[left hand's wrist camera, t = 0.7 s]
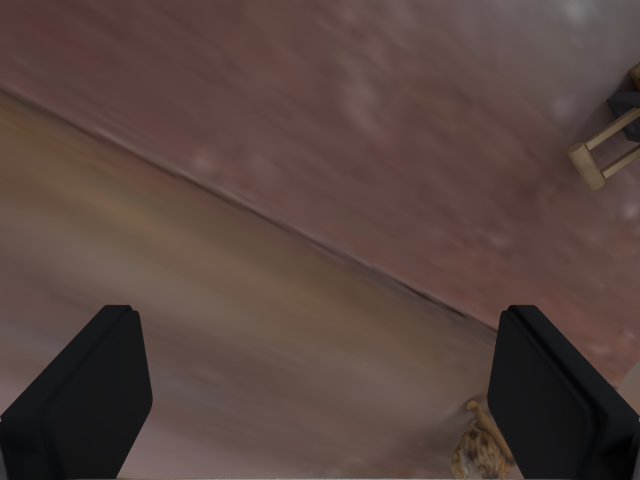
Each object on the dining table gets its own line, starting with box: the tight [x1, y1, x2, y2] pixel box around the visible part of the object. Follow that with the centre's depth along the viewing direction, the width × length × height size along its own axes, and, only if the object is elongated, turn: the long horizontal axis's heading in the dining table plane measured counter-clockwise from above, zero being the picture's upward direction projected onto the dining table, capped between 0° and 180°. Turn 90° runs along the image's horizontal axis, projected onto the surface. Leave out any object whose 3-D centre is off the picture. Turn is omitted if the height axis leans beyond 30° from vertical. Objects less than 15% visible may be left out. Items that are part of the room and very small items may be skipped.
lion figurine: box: [451, 400, 517, 479], centre depth 44 cm, size 15×5×9 cm, turn 101°
